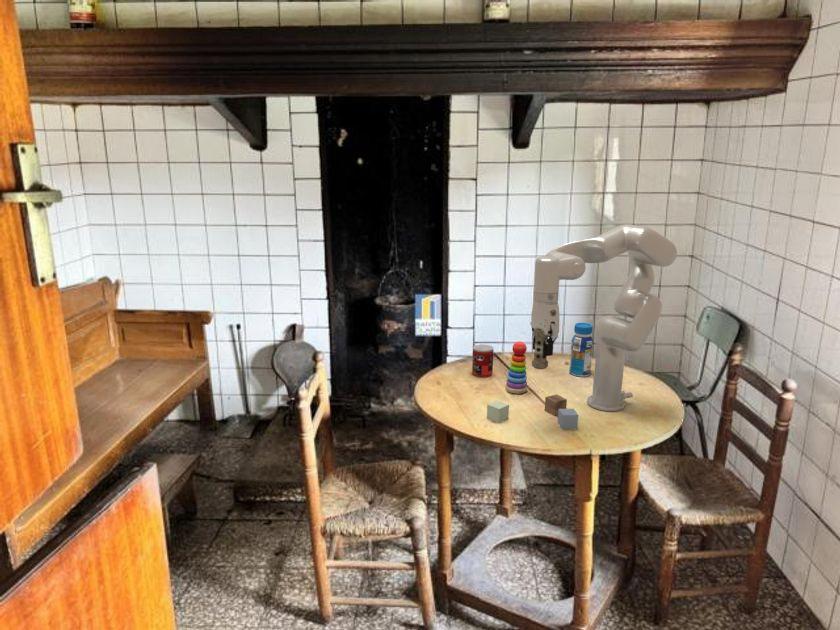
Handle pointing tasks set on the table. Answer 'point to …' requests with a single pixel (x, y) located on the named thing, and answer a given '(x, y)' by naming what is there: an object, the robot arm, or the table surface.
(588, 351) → the beverage bottle
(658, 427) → the table surface
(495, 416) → the sage cube
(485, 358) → the canned food
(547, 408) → the walnut cube
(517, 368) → the stacking toy
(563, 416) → the slate blue cube
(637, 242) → the robot arm
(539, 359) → the grenade model
